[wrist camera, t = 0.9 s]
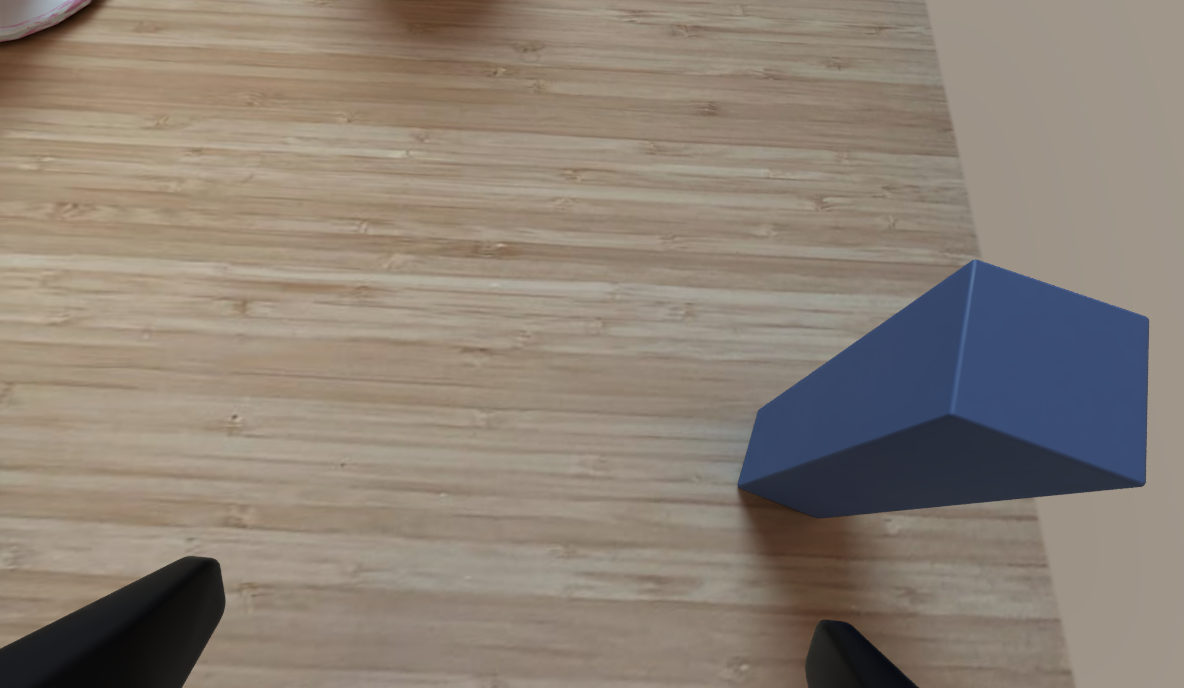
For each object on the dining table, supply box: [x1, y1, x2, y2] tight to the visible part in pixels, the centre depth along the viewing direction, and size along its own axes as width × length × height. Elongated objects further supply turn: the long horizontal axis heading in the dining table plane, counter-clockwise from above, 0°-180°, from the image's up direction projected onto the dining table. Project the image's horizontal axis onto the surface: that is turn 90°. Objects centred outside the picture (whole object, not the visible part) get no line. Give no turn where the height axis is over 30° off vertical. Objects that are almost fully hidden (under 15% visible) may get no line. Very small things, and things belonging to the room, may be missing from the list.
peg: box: [738, 260, 1149, 519], centre depth 16 cm, size 3×3×13 cm
